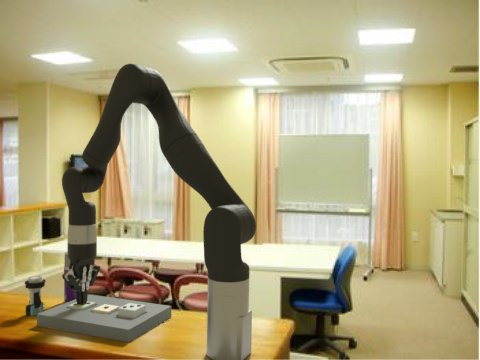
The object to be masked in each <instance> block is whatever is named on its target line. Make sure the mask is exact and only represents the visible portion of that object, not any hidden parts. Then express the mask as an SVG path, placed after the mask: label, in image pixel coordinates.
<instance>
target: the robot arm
mask: <svg viewBox="0 0 480 360" xmlns="http://www.w3.org/2000/svg"><path fill="white" fill-rule="evenodd" d="M132 104H138V105H139V104H140V105H144V107H145V108H146V109H147V110H148V111H149V112H150V114H151V116H152V117H153V118H154V120H155V122H156V124H157V129H158V143H159V147H160V150H161V153H162V154H163V156H164V158H165V159H166V161H167V163H168V164H169V166H170V168H171V169H172V170H173V172H174V173H175V175H177V177H178V178H180V179H181V180H182V182H184V183H186V185H188V186H189V187H190V188H191V189H193V190H194V191H195V192H197V193H198V194H199V195H200V196H201V197H202V198H203V200H205V203H207V205H208V206H209V207H210V210H209V211H208V212H207V214H206V216H205V218H204V223H203V231H202V232H203V235H202V236H203V239H202V240H203V258H204V265H205V268H206V269H207V303H206V304H207V305H206V307H207V308H206V309H207V310H206V354H207V357H208V358H209V359H211V360H245V359H246V358H247V357H248V356H249V355H250V354H251V353H252V336H253V335H252V332H253V329H252V327H253V321H252V320H253V310H251V309H250V308H249V307H250V266H249V264H248V263H247V262H244V260H243V258H242V245H243V244H246V243H248V242H250V241H251V240H252V239H253V238H254V236H255V234H256V231H257V222H256V218H255V216H254V214H253V212H252V210H251V209H250V207H249V206H248V205H247V204H246V203H245V201H244V200H243V199H242V198H241V196H240V195H239V194H238V193H237V192H236V190H234V188H233V187H232V185H231V184H230V183H229V182H228V180H227V179H226V177H225V176H224V175H223V173H222V171H221V170H220V168H219V166H218V165H217V163H216V162H215V161H214V159H213V158H212V156H211V155H210V153H209V151H208V150H207V148H206V146H205V144H204V143H203V142H202V140H201V139H200V137H199V136H198V134H197V133H196V132H195V130H194V128H193V127H192V126H191V124H190V122H189V121H188V120H187V118H186V116H185V115H184V113H183V112H182V110H181V109H180V107H179V105H178V104H177V102H176V101H175V99H174V96H173V94H172V93H171V91H170V89H169V87H168V84H167V82H166V80H165V79H164V78H163V75H161V73H160V72H159V71H157V70H155V69H154V68H153V67H149V66H144V65H140V64H137V63H136V64H135V63H127V64H124V65H122V67H120V69H119V70H118V71H117V73H116V75H115V77H114V80H113V82H112V85H111V87H110V91H109V93H108V96H107V98H106V100H105V104H104V107H103V110H102V114H101V116H100V119H99V121H98V124H97V126H96V128H95V130H94V132H93V133H92V135H91V137H90V139H89V141H88V142H87V144H86V146H85V147H84V150H83V152H82V153H81V158H82V161H83V163H84V164H86V165H87V166H71V167H68V168H66V169H65V171H64V172H63V175H62V178H61V186H62V190H63V194H64V197H65V200H66V204H67V207H68V228H67V252H68V254H67V257H68V259H69V260H70V265H69V271H68V272H67V274H64V273H63V274H62V275H61V276H62V279H63V281H64V280H65V282H66V283H67V285H68V286H69V288H70V289H71V290H75V291H76V302H77V304H79V305H84V304H86V303H87V295H88V294H89V293H88V290H89V289H90V287H93V286H94V284H95V282H96V279H97V277H98V275H99V273H100V270H101V266H99V265H96V264H95V263H96V262H95V258H96V257H97V254H98V253H97V252H98V251H97V250H98V247H97V246H98V245H97V241H98V237H97V236H98V234H97V233H98V231H97V207H96V204H95V203H94V202H91V201H87V200H85V198H84V195H83V194H87V193H88V194H89V193H90V194H91V193H95V192H98V190H100V189H101V187H102V186H103V183H104V181H105V177H106V173H107V169H108V164H109V163H110V161H111V159H112V158H113V157H114V155H115V153H116V151H117V150H118V147H119V145H120V142H121V138H122V137H121V135H122V133H121V132H122V120H123V117H124V116H125V113H126V112H127V110H128V108H129V107H130V106H131V105H132Z"/></svg>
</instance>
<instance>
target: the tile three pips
mask: <svg viewBox="0 0 480 360" xmlns="http://www.w3.org/2000/svg"><path fill="white" fill-rule="evenodd" d="M143 314H145V305H141V304H134V303H128V304H126V305H124V306H122V307H119V308H118V316H120V317H126V318H132V319H136V318H138V317H140V316H142V315H143Z"/></svg>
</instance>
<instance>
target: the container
mask: <svg viewBox="0 0 480 360" xmlns="http://www.w3.org/2000/svg"><path fill="white" fill-rule="evenodd" d="M67 254H68V251H65V252H64V268H63V274H67V272H68V271H69V265H70V260H69V259H68V257H67ZM63 282H64V284H63V287H64V290H63V292H64V293H63V294H64V295H63V296H64V297H63V298H64V299H63V300H64V301H63V302H64V303H63V304H65V303H67V302H70V301H72V300H75V299H76V291H75V290H71V289H70V288H69V286H68V285H67V283H66V282H65V280H64V279H63Z"/></svg>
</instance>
